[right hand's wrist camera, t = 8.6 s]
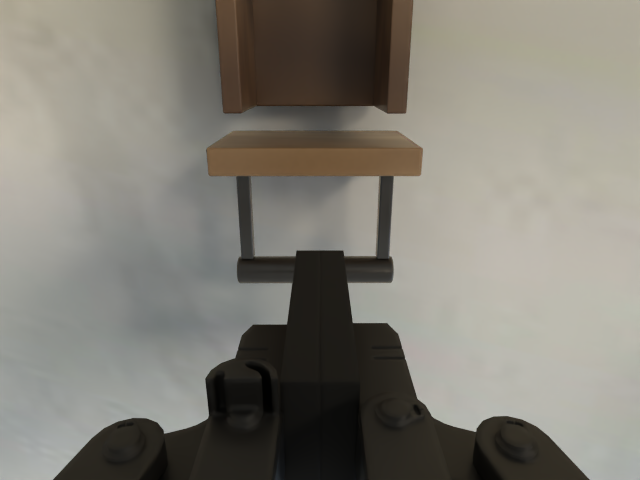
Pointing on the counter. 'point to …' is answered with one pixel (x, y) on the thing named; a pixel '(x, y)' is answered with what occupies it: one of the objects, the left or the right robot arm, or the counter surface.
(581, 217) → the counter surface
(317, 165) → the drawer
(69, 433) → the counter surface
